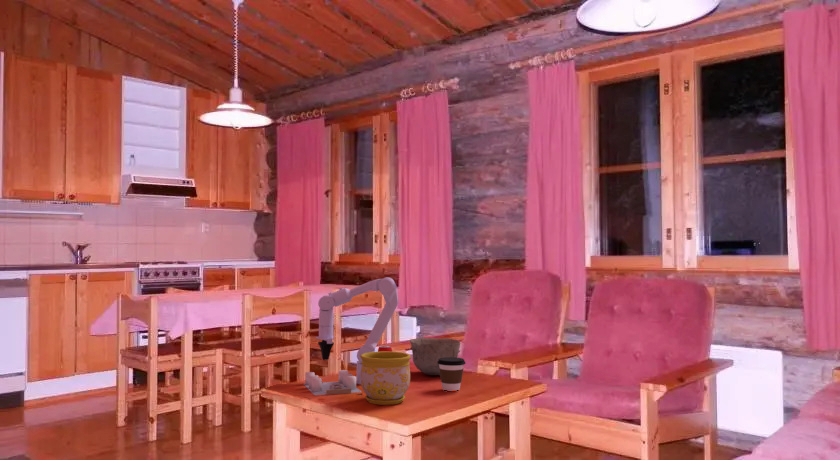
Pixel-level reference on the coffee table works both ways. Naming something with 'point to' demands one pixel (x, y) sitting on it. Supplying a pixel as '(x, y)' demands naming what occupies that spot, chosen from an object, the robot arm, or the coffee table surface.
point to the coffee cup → (451, 372)
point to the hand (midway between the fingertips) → (325, 359)
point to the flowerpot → (385, 376)
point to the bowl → (432, 353)
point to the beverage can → (384, 348)
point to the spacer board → (324, 388)
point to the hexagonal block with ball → (336, 386)
